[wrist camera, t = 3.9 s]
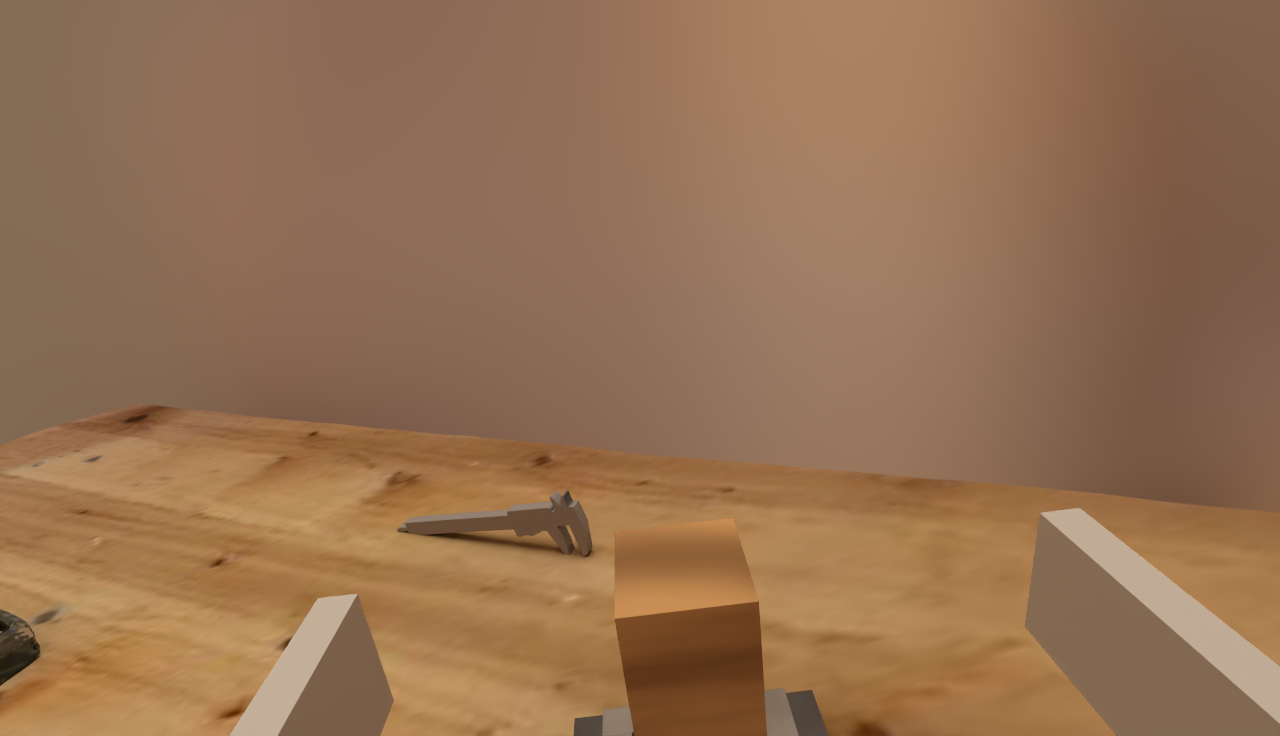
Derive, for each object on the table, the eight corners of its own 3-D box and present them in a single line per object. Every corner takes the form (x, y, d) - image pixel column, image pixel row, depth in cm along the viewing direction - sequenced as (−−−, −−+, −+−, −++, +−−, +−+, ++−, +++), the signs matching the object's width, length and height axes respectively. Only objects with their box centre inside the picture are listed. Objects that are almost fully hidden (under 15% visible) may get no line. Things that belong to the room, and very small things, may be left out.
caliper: (594, 552, 54) (583, 489, 52) (589, 560, 53) (577, 497, 51) (405, 527, 61) (388, 472, 59) (397, 534, 60) (380, 478, 58)
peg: (656, 793, 32) (615, 532, 26) (753, 782, 32) (733, 517, 26) (663, 907, 27) (614, 618, 21) (777, 894, 27) (758, 601, 21)
